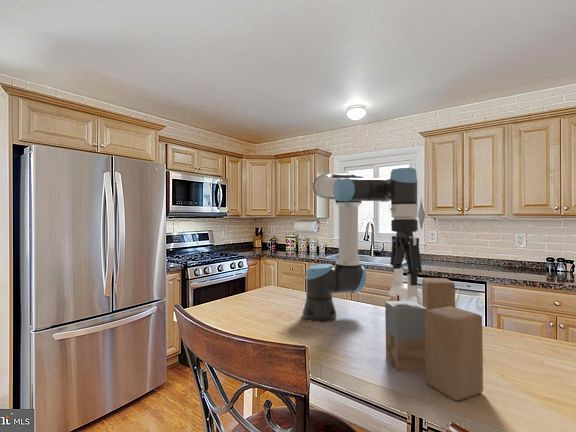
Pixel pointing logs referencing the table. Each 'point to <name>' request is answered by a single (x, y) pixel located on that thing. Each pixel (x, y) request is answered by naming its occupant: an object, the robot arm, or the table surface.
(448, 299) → the wooden block
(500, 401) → the table surface
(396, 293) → the soap
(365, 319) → the table surface
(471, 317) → the block
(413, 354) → the walnut base cube
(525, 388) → the table surface
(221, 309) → the table surface
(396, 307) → the grey cube
